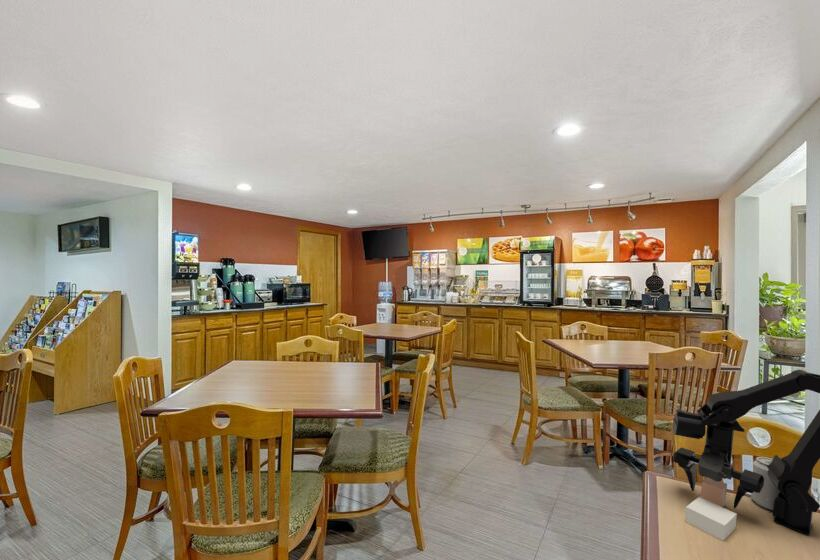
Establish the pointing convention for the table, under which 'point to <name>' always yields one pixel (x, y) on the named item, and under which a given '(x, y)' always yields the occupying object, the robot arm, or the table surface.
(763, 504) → the can
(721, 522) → the white rectangular box
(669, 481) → the table surface
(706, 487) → the block
